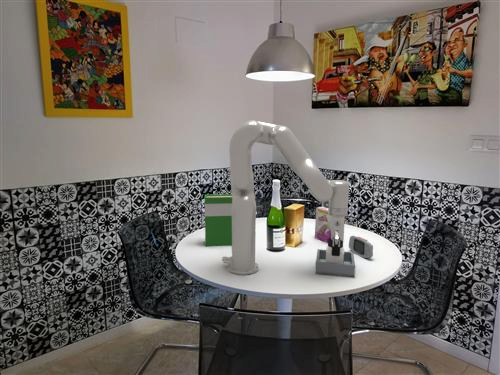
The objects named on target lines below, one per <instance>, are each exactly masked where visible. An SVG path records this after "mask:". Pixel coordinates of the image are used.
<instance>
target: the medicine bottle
mask: <svg viewBox="0 0 500 375" xmlns="http://www.w3.org/2000/svg"><path fill="white" fill-rule="evenodd" d="M334 239H335V238H334ZM338 239H339V238H338ZM338 242H339V241H338ZM332 246H333V240H332V239H331V237H330V238H329V239H328V243H327V245H326V248H325V250H326V262H332V263H343V264H344V251H345V248H344V240H343V241H342V240H340V256H332Z"/></svg>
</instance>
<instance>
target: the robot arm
mask: <svg viewBox="0 0 500 375" xmlns="http://www.w3.org/2000/svg"><path fill="white" fill-rule="evenodd" d="M256 143H259V144H264V145H270V146H274V147H275V149H276V150H277V151H278V152H279V154H280V155H281V156H282V158H283V159H284V161H285V162H286V164H288V166H289V167H290V169H291V170H292V171H293V172H294V173H295V174H296V175H297V176H298V178H300V180H302V182H303V183H304V184H305V186H306V187H307V188H308V191H309V193H310V195H312V197H314V198H315V199H316V200H317V201H318V202H321V203H325V202H328V207H327V208H328V215H330V216H331V239H332V240H333V246H332V256H340V240H342V241H343V242H344V241H345V239H344V237H345V220H346V219H345V217H347V216H348V210H349V209H348V208H349V206H348V205H349V191H350V190H349V189H350V184H349V182H348V181H347V180H343V179H334V180H328V179H327V178H326V177H325V175H324V174H323V172H322V171H321V170H320V169H319V167H318V166H317V165H316V163H315V162H314V160H313V159H312V158H311V156H310V155H309V153H308V152H307V151H306V150H305V148H304V147H303V145H302V144H301V142H300V141H299V140H298V138H297V137H296V136H295V134H294V133H293V131H292V130H291V129H290V128H289V127H288V126H286V125H280V124H273V123H269V122H268V123H267V122H262V121H257V120H255V119H250V120H247V121H246V122H245V123H243V124H242V125H240V126H238V128H237V129H236V130H235V131H234V132H233V134H232V135H231V138H230V141H229V148H228V149H229V150H228V151H229V152H228V153H229V167H230V169H229V171H230V174H229V179H230V189H231V191H230V192H231V194H232V246H231V256H222V258H221V261H222V262H223V264H228V265H227V269H228V271H229V272H230V273H232V274H235V275H240V276H241V275H243V276H244V275H251V274H256V273H257V272H258V271H259V269H260V265H259V264H258V263H257V262H256V224H257V223H256V218H257V202H256V197H255V187H254V178H255V177H254V176H255V175H254V171H253V164H252V163H253V162H252V148H253V146H254V144H256ZM334 238H335V239H334ZM338 238H339V239H338ZM338 241H339V242H338Z"/></svg>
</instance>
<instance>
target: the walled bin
mask: <svg viewBox="0 0 500 375" xmlns="http://www.w3.org/2000/svg"><path fill="white" fill-rule="evenodd" d="M354 254H355V253H354V252H353V251H346V250H344V264H343V263H332V262H326V249H322V248H321V249H319V248H317V250H316V258H315V275H323V276H325V275H326V276H334V277H344V278H354V279H355V275H356V274H355V272H356V263H355V262H356V261H355V255H354Z"/></svg>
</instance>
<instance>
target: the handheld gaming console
mask: <svg viewBox="0 0 500 375" xmlns="http://www.w3.org/2000/svg"><path fill="white" fill-rule="evenodd" d="M348 248H349V250H351V252H353V254H355V255H356V256H359V257H361V258H364V259H365V258H366V259H371V258H372V257H373V256H374V245H373V244H372V242H371V243H370V242H369V241H368V239H365V238H364V237H361V236H355V235H351V236H350V237H349V241H348Z"/></svg>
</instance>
